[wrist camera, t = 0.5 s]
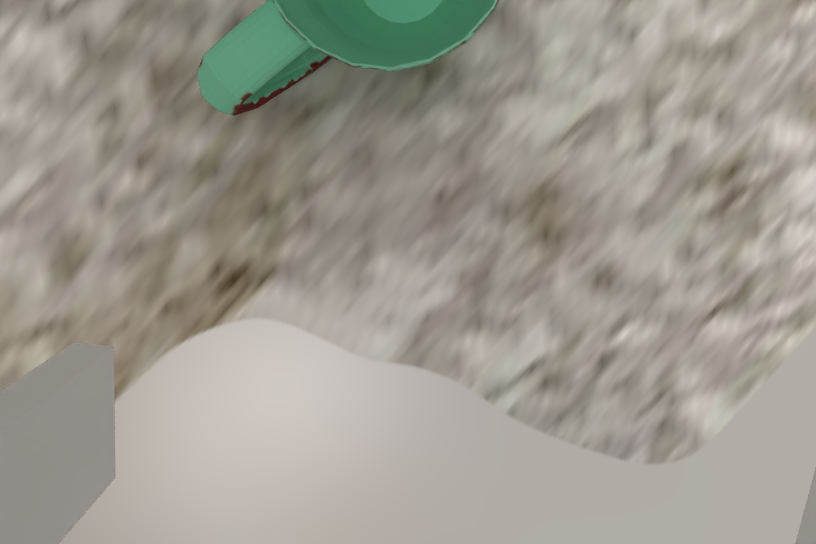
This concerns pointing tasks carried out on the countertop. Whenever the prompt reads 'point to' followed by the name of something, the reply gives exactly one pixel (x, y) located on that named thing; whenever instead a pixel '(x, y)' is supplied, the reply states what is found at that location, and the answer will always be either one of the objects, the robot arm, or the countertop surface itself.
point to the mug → (330, 43)
